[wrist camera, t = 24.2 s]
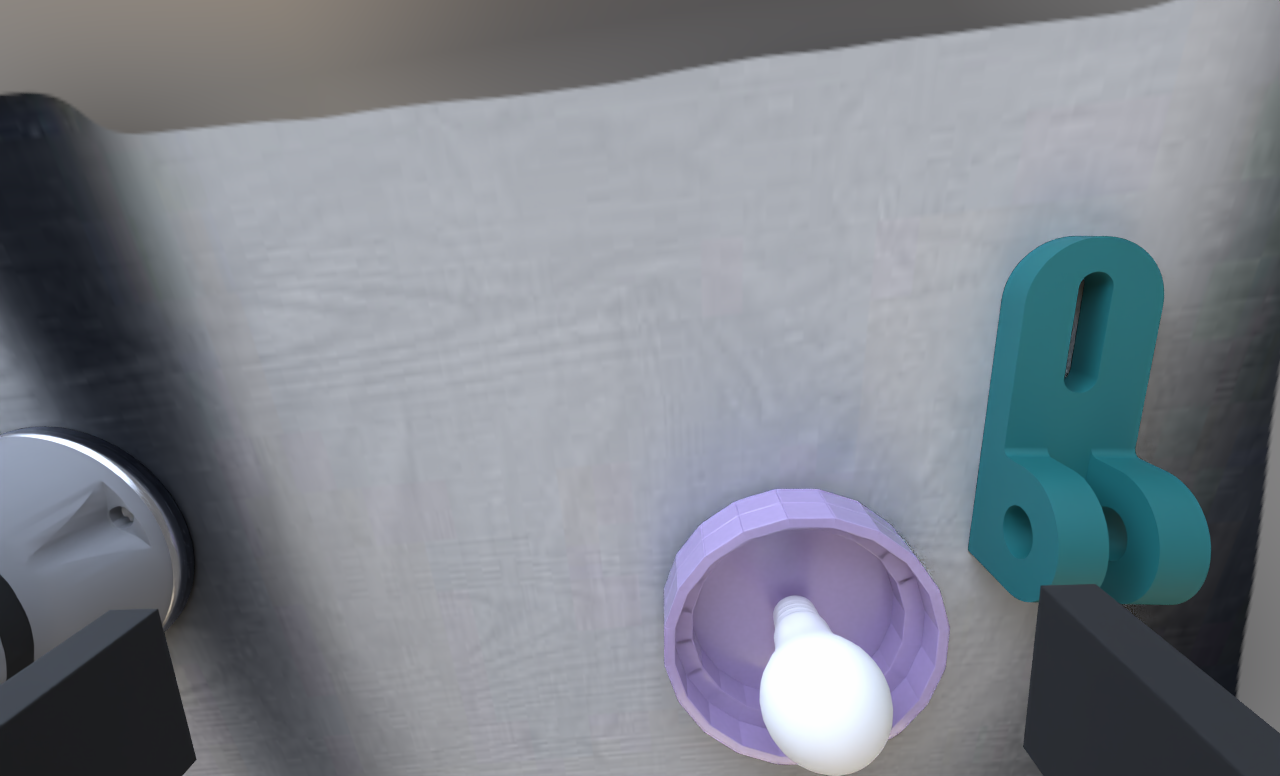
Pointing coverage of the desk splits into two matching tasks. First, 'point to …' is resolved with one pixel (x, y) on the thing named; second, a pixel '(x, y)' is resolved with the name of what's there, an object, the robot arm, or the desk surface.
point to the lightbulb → (823, 694)
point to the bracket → (1081, 435)
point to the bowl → (785, 566)
